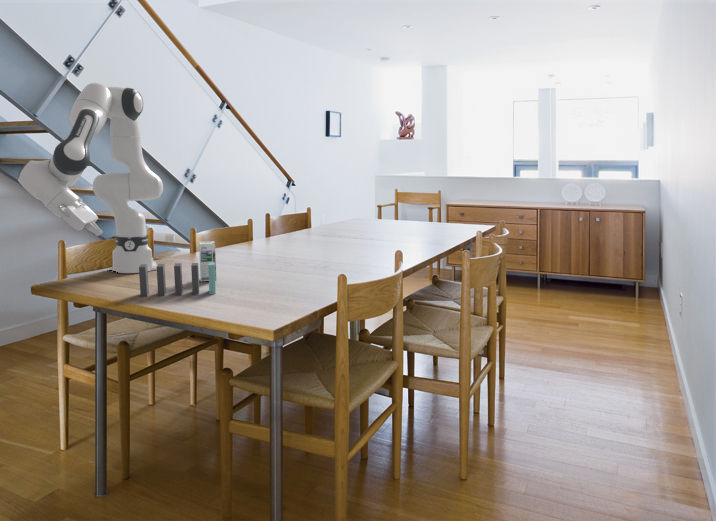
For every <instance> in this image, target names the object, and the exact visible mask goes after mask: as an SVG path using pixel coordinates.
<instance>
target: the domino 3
mask: <svg viewBox="0 0 716 521" xmlns="http://www.w3.org/2000/svg"><path fill="white" fill-rule="evenodd" d="M182 266H183V265H182V262H180V263H178V262H177V263H174V265H173V271H174V274H173V275H174V292H175V293H174V294H175V295H177V296H182V295H183V293H184V292H183V291H184V290H183V288H184V287H183V271H182V270H183V269H182V268H183V267H182Z"/></svg>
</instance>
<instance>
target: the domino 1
mask: <svg viewBox="0 0 716 521" xmlns="http://www.w3.org/2000/svg"><path fill="white" fill-rule="evenodd" d="M138 275H139V292H140V293H139V294H140V298H145V297H148V296H149V293H150V287H149V286H150V285H149V271H148V266H147V264H141V265H140V266H139V273H138Z"/></svg>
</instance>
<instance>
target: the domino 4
mask: <svg viewBox="0 0 716 521" xmlns="http://www.w3.org/2000/svg"><path fill="white" fill-rule="evenodd" d="M190 270H191V289H192V290H191V292H192V296H193V294H199V295H200V278H199V276H200V273H199V272H200V269H199V262H192V263H191V269H190Z"/></svg>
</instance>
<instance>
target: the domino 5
mask: <svg viewBox="0 0 716 521" xmlns="http://www.w3.org/2000/svg"><path fill="white" fill-rule="evenodd" d="M208 271H209V282H208V293H209V295H216V290H217V288H216V287H217V285H216V281H215V262H209V264H208Z"/></svg>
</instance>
